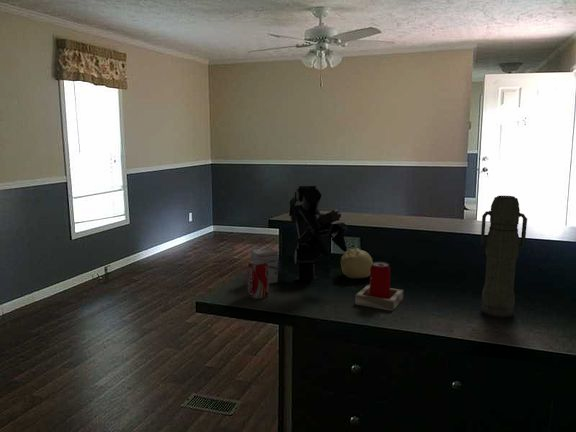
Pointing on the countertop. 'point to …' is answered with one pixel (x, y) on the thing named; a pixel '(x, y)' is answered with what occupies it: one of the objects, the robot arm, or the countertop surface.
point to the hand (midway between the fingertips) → (337, 253)
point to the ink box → (268, 261)
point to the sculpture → (356, 263)
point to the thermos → (501, 255)
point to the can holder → (379, 299)
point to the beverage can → (380, 280)
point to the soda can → (257, 278)
